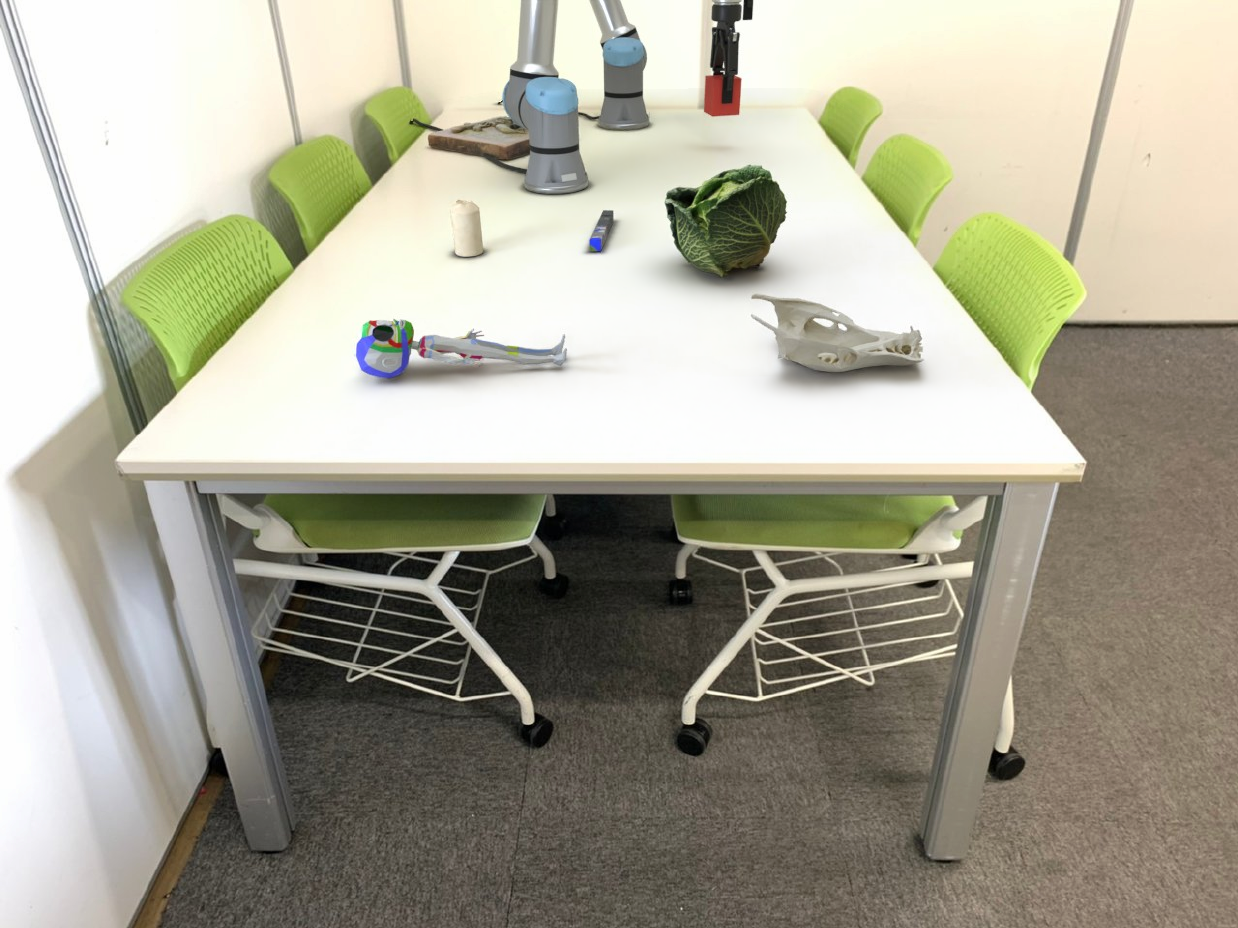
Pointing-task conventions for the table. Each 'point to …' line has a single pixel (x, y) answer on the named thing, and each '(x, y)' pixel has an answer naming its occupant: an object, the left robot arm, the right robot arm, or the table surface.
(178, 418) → the table surface
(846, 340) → the anatomical model
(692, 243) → the vegetable
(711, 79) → the brick
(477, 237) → the candle
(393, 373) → the toy
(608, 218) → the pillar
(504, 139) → the plaque
